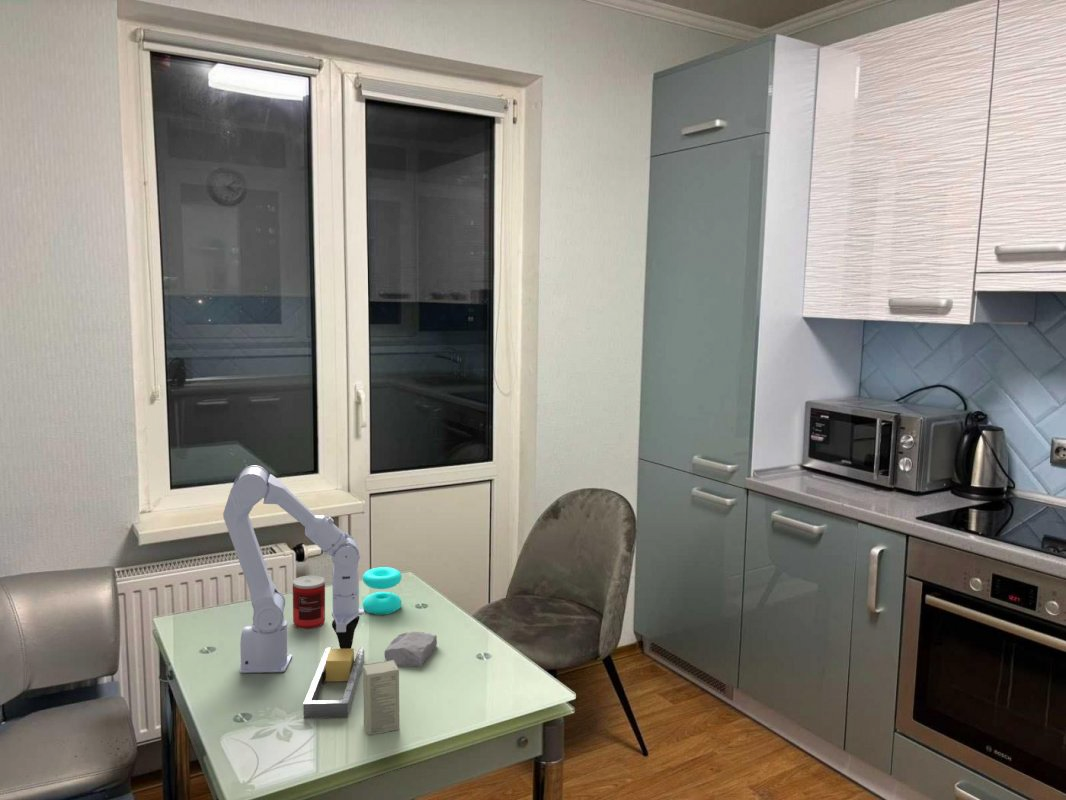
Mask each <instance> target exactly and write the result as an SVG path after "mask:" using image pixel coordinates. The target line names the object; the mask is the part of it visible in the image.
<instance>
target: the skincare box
mask: <svg viewBox="0 0 1066 800" xmlns="http://www.w3.org/2000/svg"><path fill="white" fill-rule="evenodd" d="M398 666H399V665H396V663H395V661H394V660H390V661H386V660H385V661H379V662H375V663H374V662H373V663H368V664H363V666H362V677H363V678H362V682H363V683H362V685H363V725H364V728H365V731H366V734H367V736H372V735H377V734H383V733H387V732H391V731H397V730H400V727H401V725H400V721H401V720H400V669H399V667H398Z"/></svg>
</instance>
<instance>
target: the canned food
mask: <svg viewBox="0 0 1066 800" xmlns="http://www.w3.org/2000/svg"><path fill="white" fill-rule="evenodd" d="M292 618H293V619H292V621H293V624H294V626H295V627H296V628H299V629H302V628H303V629H304V630H309V629H310V630H311V628H312V629H316V628H319V627H321V626H322V625H324V623H325V621H326V620H325V619H326V580H325V578H324V577H323V576H319V575H314V574H313V575H303V576H299V577H297V578H294V579H293V581H292Z"/></svg>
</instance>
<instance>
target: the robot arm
mask: <svg viewBox="0 0 1066 800" xmlns="http://www.w3.org/2000/svg"><path fill="white" fill-rule="evenodd" d="M262 500H263V502H262V503H263V505H277V506H279V507H280V509H283V510H284V511H285V512H286V513H288V515H290V516H291V517H293V518H294V519H295V520H296V521H297V522H299V523H300V524H301V525H302V526H303V527H304V535H305V537H307V538H308V539H309V540H311V542H313V543H314V544H315V545H316V546H317V547H318V548H319V549H321V550H322V551H323V552H324V553H325V554H327V555H330V556H332V557H331V560H332V561H331V562H332V563H333V571H332V610H331V616H332V619H333V620H332V622H331V626H332V629H333V631H334V632H335V634H336V637H337V641H338V644H339V645H338V646H339V649H352V648H353V643H354V635H355V631H356V628H357V626H358V624H359V622H360V616H364V614H365V609H364V608H360V594H359V593H360V592H359V591H360V582H359V581H360V579H359V578H360V577H359V575H360V574H359V573H360V572H359V570H358V569H359V562H360V559H361V555H360V550H359V545H358V543H357V541H356V540H355V538H354V537H353V536H351V535H349V533H348V532H344V531H342V530H341V529H340V528H339V527H338V526H337V525H336V524H334V522H335V521H334V519H333V518H332V517H331V516H328V517H327V516H325V515H324V514H314V513H313V512H312V511H311V509H309V507H308V506H307V505H305V504H304V503H303V502H302V501H301V500H300V499H299V498H298V497H297V496H296V495H295V494H294V493H293V492H292V491H291V490H290V489H289V488H288V487H287V486H286V485H285V484H284V483H282V482H281V480H279V479H278V478H277V477H276V476H274V475H273V474H271V473H270V474H269V472H268V471H267V470H266V469H265V468H264V467H262V466H260V465H255V464H254V465H249V466H246V467H245V468H244V469H242V470H241V472H240V473H239V474H238V476H237V477H236V478H235V480H234V482H233V484H232V487H231V488H230V491H229V495H228V498H227V501H226V504H225V507H224V510H223V513H222V515H223V520H224V523H225V525H226V528H227V531H228V535H229V537H230V540H231V542H232V545H233V549H234V551H235V554H236V556H237V559H238V562H239V565H240V568H241V570H242V573H243V575H244V579H245V581H246V584H247V587H248V589H249V594H250V602H251V606H252V608H253V610H252V611H253V615H252V625H246V626H245V625H244V627H243V628H242V632H241V635H240V642H239V643H240V644H239V645H240V670H239V672H240V673H243V674H247V673H248V674H249V673H284V672H286V670H287V668H288V667H289V664H290V662H291V660H292V658H293V654H292V653H291V654H290V653H288V627H287V626H288V621H287V620H286V619H285V618H284V616H285V615H284V614H285V613H284V610H285V606H286V599H285V597H284V595H283V594H282V593H281V592H280V591H279V590H278V588H277V587H276V585H275V582H274V580H273V579H272V578H271V575H270V572H269V570H268V567H267V564H266V561H265V558H264V556H263V552H262V550H261V547H260V544H259V540H258V538H257V536H256V532H255V529H254V527H253V524H252V521H251V518H250V516H249V515H250V514H251V512H252V509H253V508H254V506H256V505H257V504H258V503H259V502H260V501H262Z"/></svg>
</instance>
